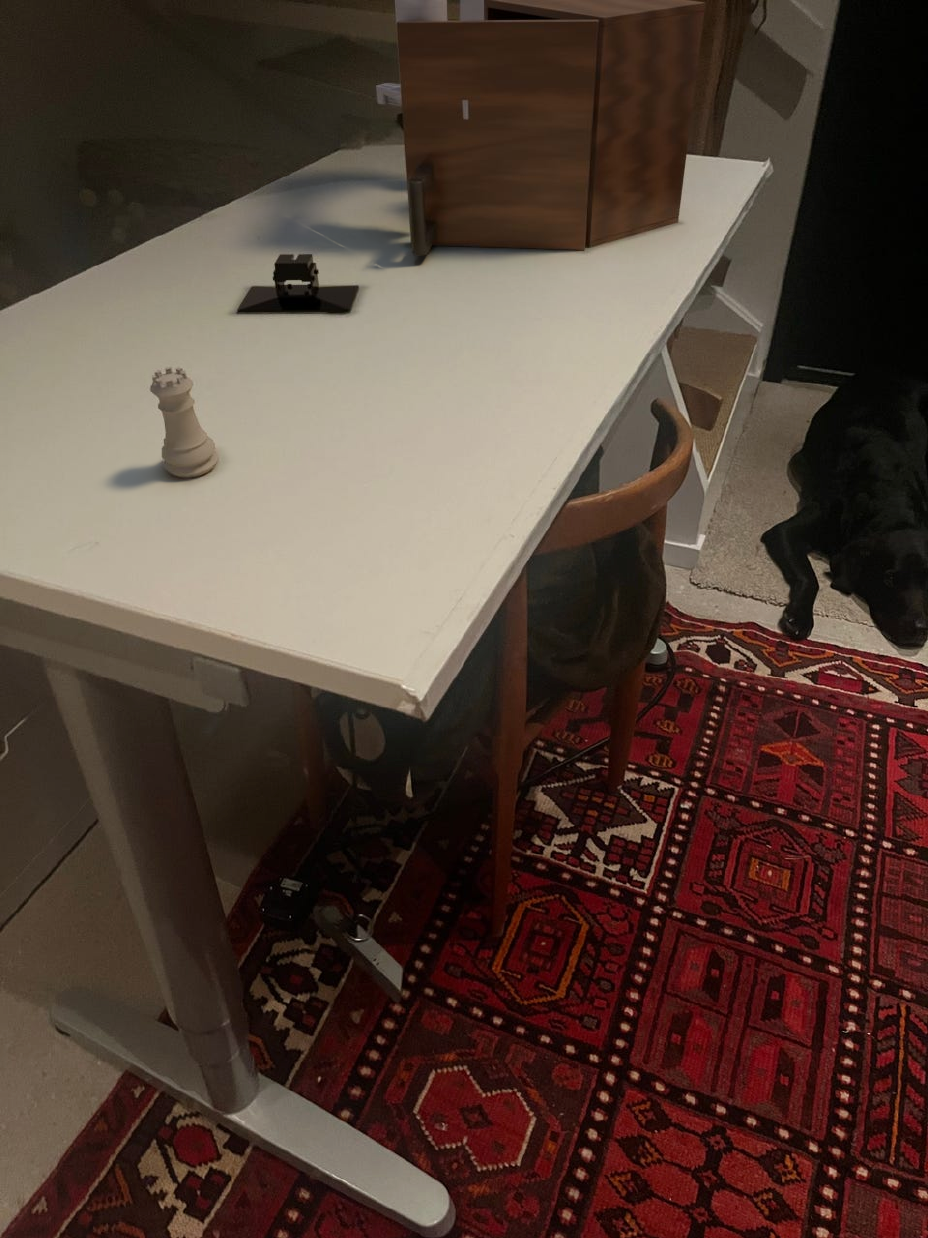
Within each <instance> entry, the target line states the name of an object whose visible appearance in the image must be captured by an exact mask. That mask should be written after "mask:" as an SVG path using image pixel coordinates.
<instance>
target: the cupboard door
mask: <svg viewBox="0 0 928 1238" xmlns="http://www.w3.org/2000/svg"><path fill="white" fill-rule="evenodd" d="M598 28H599V20H467V21H460V20H447V21H398V22H397V28H396V39H397V38H398V43H397V54H398V53H399V56H398V70H399V69H400V73H399V84H401V99H402V106H401V113H402V115H403V130H404V132H403V145H404V158H405V161H404V162H405V174H406V175H405V176H406V190H407V206H408V220H409V234H410V235H409V236H410V237H409V238H410V245H411V253H412V255H413V256H425V255H427V254H428V253H429V251H430V249H431V247H432V246H438V247H439V246H440V247H441V246H442V247H443V246H444V247H474V248H500V249H501V248H503V249H504V248H505V249H507V248H508V249H536V250H537V249H539V250H573V251H585V250H586V246H585V245H586V228H587V211H588V194H589V178H590V161H591V144H592V128H593V111H594V94H595V78H596V61H597V44H598ZM463 100H468V119H463ZM403 130H402V131H403Z"/></svg>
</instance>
